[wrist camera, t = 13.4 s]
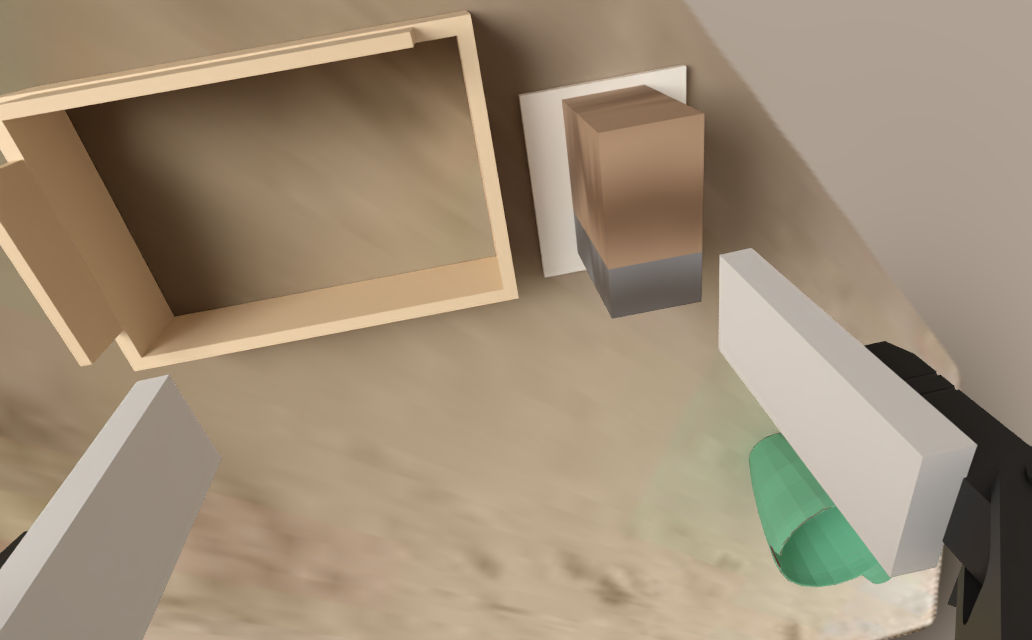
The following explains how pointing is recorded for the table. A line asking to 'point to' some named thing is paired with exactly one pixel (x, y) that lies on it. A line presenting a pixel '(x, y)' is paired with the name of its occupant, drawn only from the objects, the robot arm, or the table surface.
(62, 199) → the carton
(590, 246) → the walnut block
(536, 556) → the table surface
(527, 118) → the plate
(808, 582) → the mug
